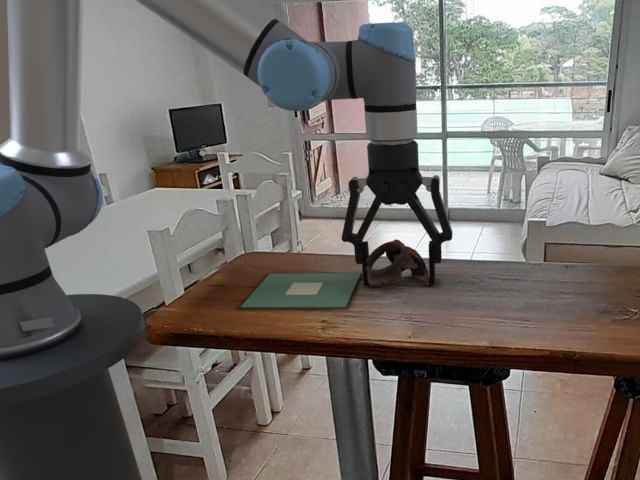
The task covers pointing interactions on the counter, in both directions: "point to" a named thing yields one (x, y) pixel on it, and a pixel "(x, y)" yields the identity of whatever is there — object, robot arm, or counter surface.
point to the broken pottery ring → (395, 264)
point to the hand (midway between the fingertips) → (399, 281)
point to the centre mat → (304, 291)
